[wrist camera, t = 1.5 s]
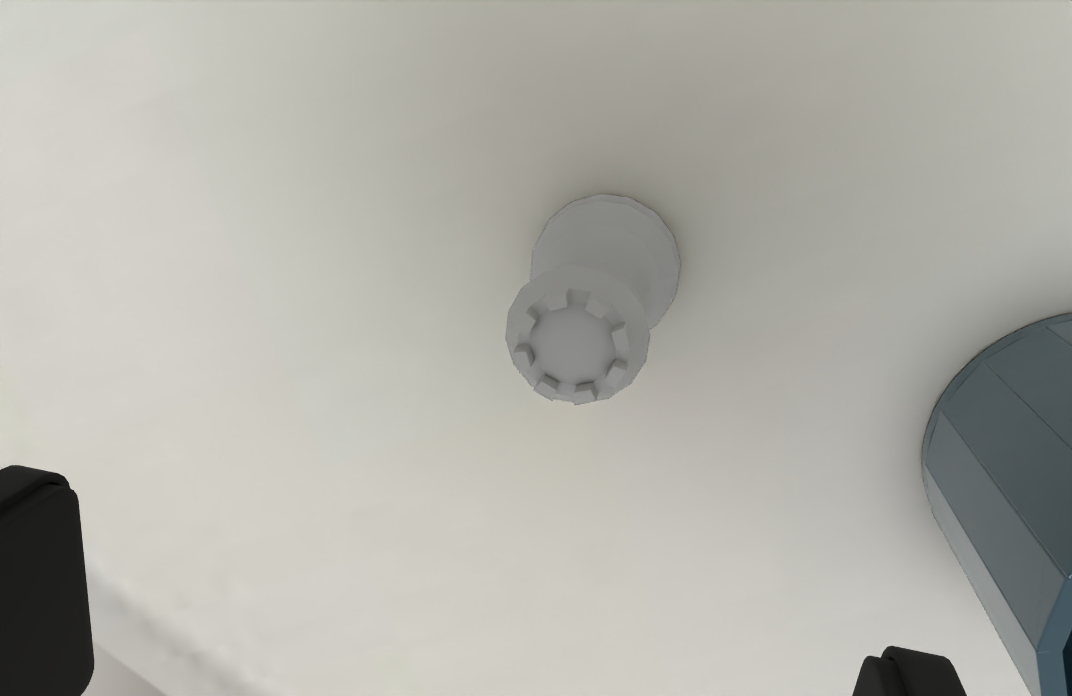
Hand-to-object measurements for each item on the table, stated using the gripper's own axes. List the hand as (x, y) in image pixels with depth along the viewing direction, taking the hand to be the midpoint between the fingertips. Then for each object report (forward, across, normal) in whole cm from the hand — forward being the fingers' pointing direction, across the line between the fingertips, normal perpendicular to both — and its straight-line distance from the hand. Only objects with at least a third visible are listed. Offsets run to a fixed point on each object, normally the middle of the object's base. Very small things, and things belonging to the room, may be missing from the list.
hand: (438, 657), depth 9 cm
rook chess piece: (+17, 0, -1) cm, 17 cm away
